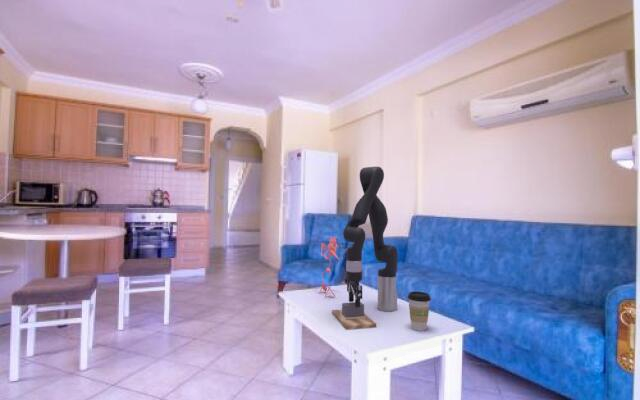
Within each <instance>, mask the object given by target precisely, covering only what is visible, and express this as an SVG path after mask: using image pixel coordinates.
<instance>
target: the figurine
mask: <svg viewBox="0 0 640 400" xmlns="http://www.w3.org/2000/svg"><path fill="white" fill-rule="evenodd" d="M328 242H329V243H328V244H327V245H326V244H325V243H324V242H322V243H321V244H320V245H321V249H320V250H321V251H320V256H321V257H324V258H325V260H327V261H328V260H329V266H328V267H327V268H326V270H325V271H324V272H322V274H321V278H322V280H324V277H323V276H324V275H323V274H324V273H329V274H330V273H331V271H332V270H331V264H332V260H331V257H332V256H333V258H336V259H337V260H339V261H340V258H339V257H338V255H337V249H339V247H338V243H337V239H336V236H332V235H330V237H329V240H328ZM323 251H325V254H323ZM329 257H330V258H329ZM322 290H323V291H324V292H325V295H324V298H326V297H327V295H328V293H329V291H330V293H331V294H332V295H333V297H336V295H335V293H334V292H335V290H332V289H331V284H329V286H327V285H326V284H325V282H324V281H322V283H321V288H320V290H319V292H318V295H319V294H321V292H322Z"/></svg>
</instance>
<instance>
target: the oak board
mask: <svg viewBox="0 0 640 400" xmlns="http://www.w3.org/2000/svg"><path fill="white" fill-rule="evenodd" d="M331 313H332V315H333V317H335V319H336V320H337V321H338V322H339V323H340V324H341V325H342V326H343V328H344V329H345V331H346V330H347V331H348V330H358V329H370V328H371V329H372V328H373V329H374V328H377V323H376V322H375V321H374V320H373V319H371V318H370V317H369V316H368V315H367V314H366V313H364V316H365V318H356V319H344V318H343V317H342V316H341V314H342V309H332V310H331Z"/></svg>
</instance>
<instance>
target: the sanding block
mask: <svg viewBox="0 0 640 400" xmlns="http://www.w3.org/2000/svg"><path fill="white" fill-rule="evenodd" d="M341 310H342V314H341V316H342V317H343V318H344V319H356V318H365V316H364V314H365V304H364V303H363V302H361V301H360V307H357V308H356V307H355V301H353V302H342V304H341Z"/></svg>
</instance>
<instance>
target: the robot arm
mask: <svg viewBox="0 0 640 400" xmlns="http://www.w3.org/2000/svg"><path fill="white" fill-rule="evenodd" d="M384 177H385V172H384V169H383V168H382V167H380V166H366V167H362V168H361V170H360V171H359V181H360V185H361V188H362V192H363V195H362V196H361V198H360V199H359V200H358V201H357V202H356V205H355V206H354V209H353V213H352V216H351V218H350V219H349V220H348V223H347V224H346V225H345V228H344V229H343V234H342V235H343V239H344V240H345V241H346V242H348V243H350V242H352V243H353V245H352V246H350V247H348V248H347V249H346V267H345V268H346V269H345V271H346V273H345V275H346V276H345V278H346V291H347V293H348V301H349V302H348V303H352V302H355V307H356V308H357V307H360V302H361V299H363V285H362V284H360V282H361V281H363V262H362V261H363V253H362V252H363V248H364V244H365V240H366V231H365V230H364V229H363V227H360V226H362V225H365V224H366V223H367V220H368V219H369V223H370V228H371V233H372V240H373V241H372V243H373V249H374V252H373V253H374V257H375V259H376V260H377V262H380V263H385V267H384V268H383V267H382V268H379V269H378V270H377V309H378V310H380V311H382V312H394V311H398V291H397V288H396V287H397V270H398V260H399V257H398V256H399V251H398V248H397V247H396V246H395V245H390V244H385V242H384V234H385V233H384V232H385V231H386V228H387V226H388V223H389V219H388V217H389V216H388V214H387V209H386V206H385V204H384V203H383V202H382V201H381V199H380V198H379V196H377V194H378V192H379V190H380V189H381V187H382V184H383V181H384V179H385V178H384Z"/></svg>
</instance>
